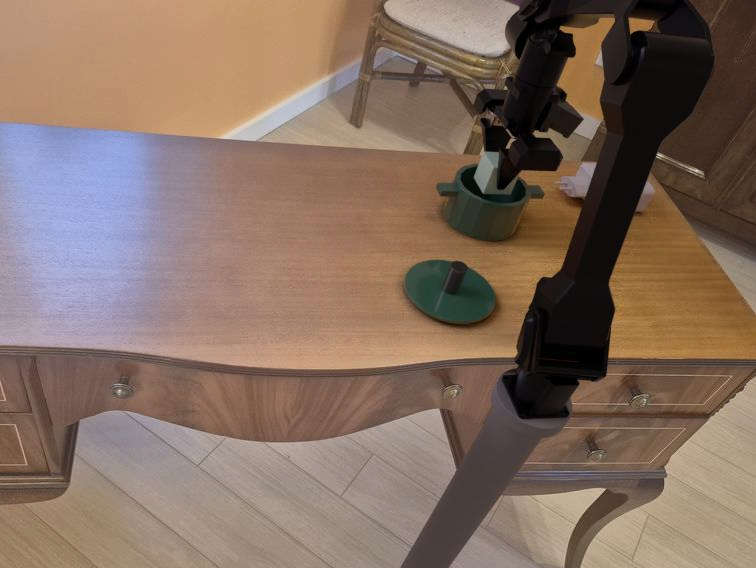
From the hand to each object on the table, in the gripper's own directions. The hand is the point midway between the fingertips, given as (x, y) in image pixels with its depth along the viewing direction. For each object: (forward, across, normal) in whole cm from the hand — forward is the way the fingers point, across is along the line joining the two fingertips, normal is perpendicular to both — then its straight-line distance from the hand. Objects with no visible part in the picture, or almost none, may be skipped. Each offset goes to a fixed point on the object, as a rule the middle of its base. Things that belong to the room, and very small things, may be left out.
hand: (494, 180), depth 93 cm
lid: (+6, -18, +11) cm, 22 cm away
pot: (+7, 0, 0) cm, 7 cm away
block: (+1, 0, 0) cm, 1 cm away
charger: (+7, +7, -23) cm, 25 cm away
